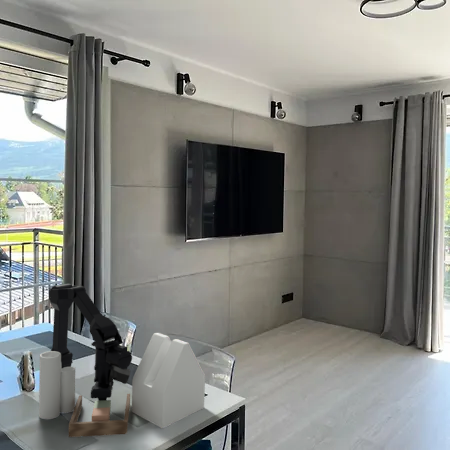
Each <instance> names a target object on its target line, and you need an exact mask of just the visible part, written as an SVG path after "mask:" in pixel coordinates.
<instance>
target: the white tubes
mask: <svg viewBox="0 0 450 450" xmlns="http://www.w3.org/2000/svg"><path fill="white" fill-rule="evenodd" d="M61 365H62V363H61V353H60V352H56V351H51V350H50V351H44V352H42V353H40V354H39V375H38V376H39V379H38V381H39V387H38V388H39V390H38V391H39V395H38V397H39V400H38V402H39V403H38V416H39V418H40V419H43V420H52V419H55V418H58V417H59V416H60V415H61V414H68V413H71V412H72V413H73V411H74V408H75V406H76V367H74V366H71V367H65V368H62V369H61Z"/></svg>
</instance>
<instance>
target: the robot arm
mask: <svg viewBox="0 0 450 450" xmlns="http://www.w3.org/2000/svg"><path fill="white" fill-rule="evenodd" d="M48 296H49V303H50V304H51V306H52V308H53V324H52V325H53V330H52V347H51V350H50V351H56V352H60V353H61V363H62V365H61V369H62V368H65V367H72V364H73V355H74V354H73V353H72V352H71V351H70V350H69V348H68V337H69V335H68V334H69V333H68V332H69V313H70V312H69V311H70V308H71V306H72V305H73V303H74V305H75V306H76V307H77V308H78V310H79V311H80V313H81V315H83V316H84V317H83V318H85V321H86V322H87V323H88V325H89V328H88V329H89V330H88V331H89V334H90V335H91V337H92V339H93V340H94V341H92V342H91V344H90V345H91V346H92V347H95V351H94V356H95V357H94V359H95V361H94V366H93V370H94V379H93V382H94V383H95V384H94V385H93V386H92V387H91V390H90V398H91V399H97V401H101V400H108V399H109V398H111V397H112V392H113V389H114V388H113V386H114V381H116V382H120V383H122V385H123V384H124V385H126V384H127V383H128V381H129V379H130V376H131V370H130V368H128V367H129V366H130V365H131V363H132V360H133V355H132V352H130V351H129V350H128V346H125V345H122V344H123V342H124V340H123V339H122V336H121V334H120V332H119V330H118V328H117V325H116V324H115V322H113V321H112V319H111V318H110V317H108V316H105V315H103V314H102V313H101V311H100V309H99V308H98V307H97V306H96V304H95V303H94V302H93V299H91V297H90V296H89V295H88V293H87V290H86V288H85V286H83V285H72V284H71V283H65V284H63V283H62V284H59V285H53V286H52V287H51V288H49V292H48ZM107 398H108V399H107Z"/></svg>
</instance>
